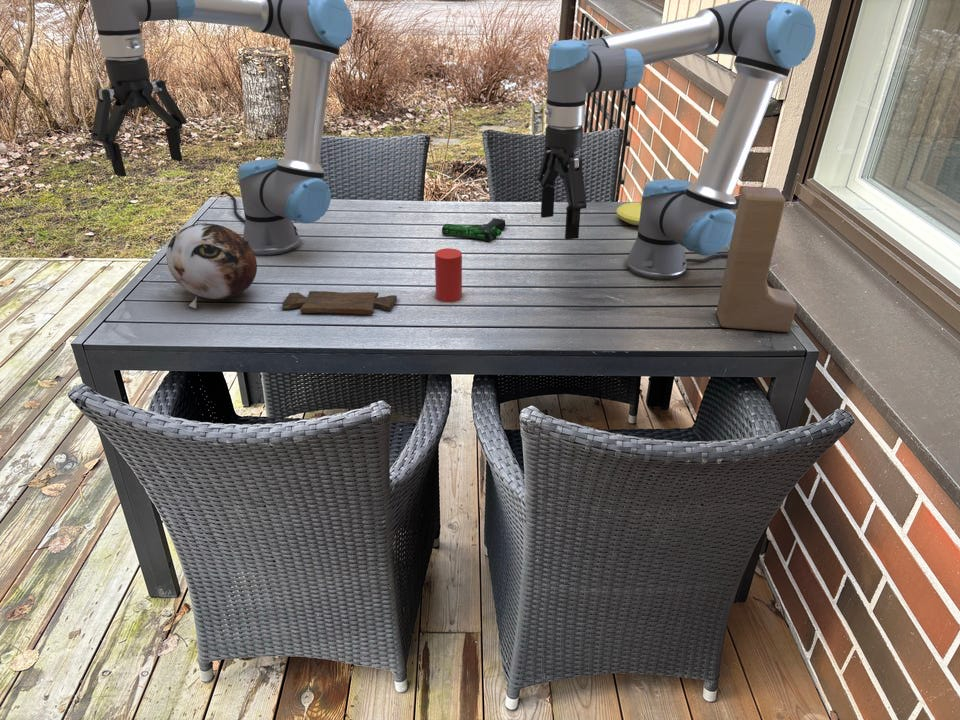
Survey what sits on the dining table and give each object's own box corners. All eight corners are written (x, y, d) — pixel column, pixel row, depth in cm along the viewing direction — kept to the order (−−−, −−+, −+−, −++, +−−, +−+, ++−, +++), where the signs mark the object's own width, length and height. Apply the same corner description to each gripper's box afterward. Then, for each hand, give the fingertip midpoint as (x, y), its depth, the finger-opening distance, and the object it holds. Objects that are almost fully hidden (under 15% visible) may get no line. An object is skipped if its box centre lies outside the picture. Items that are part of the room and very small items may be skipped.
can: (467, 296, 171) (467, 253, 165) (448, 304, 167) (448, 260, 161) (448, 288, 175) (448, 246, 169) (430, 296, 171) (429, 253, 165)
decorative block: (790, 333, 157) (826, 200, 141) (720, 328, 158) (748, 196, 143) (782, 318, 163) (816, 189, 148) (715, 313, 165) (741, 185, 149)
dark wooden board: (392, 317, 161) (397, 298, 170) (391, 310, 160) (397, 291, 169) (278, 313, 161) (289, 294, 170) (277, 306, 161) (289, 287, 169)
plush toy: (130, 285, 161) (164, 203, 163) (192, 308, 177) (221, 233, 178) (195, 307, 151) (229, 220, 152) (254, 330, 166) (285, 250, 168)
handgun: (511, 219, 210) (493, 234, 198) (511, 228, 211) (492, 244, 199) (461, 212, 215) (440, 226, 203) (461, 221, 217) (440, 236, 204)
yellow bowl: (629, 210, 226) (631, 188, 223) (676, 220, 218) (680, 198, 215) (606, 223, 215) (608, 200, 212) (655, 235, 207) (658, 211, 204)
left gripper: (76, 67, 127) (106, 185, 138) (191, 52, 145) (210, 156, 156) (51, 63, 130) (82, 178, 141) (167, 49, 149) (187, 151, 160)
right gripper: (524, 113, 152) (522, 210, 163) (572, 142, 131) (565, 250, 142) (557, 111, 153) (553, 206, 164) (609, 139, 133) (600, 246, 144)
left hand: (149, 167), depth 149 cm, fingers open, 13 cm apart
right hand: (558, 227), depth 153 cm, fingers open, 13 cm apart
